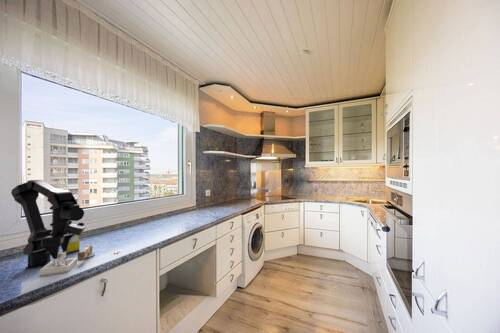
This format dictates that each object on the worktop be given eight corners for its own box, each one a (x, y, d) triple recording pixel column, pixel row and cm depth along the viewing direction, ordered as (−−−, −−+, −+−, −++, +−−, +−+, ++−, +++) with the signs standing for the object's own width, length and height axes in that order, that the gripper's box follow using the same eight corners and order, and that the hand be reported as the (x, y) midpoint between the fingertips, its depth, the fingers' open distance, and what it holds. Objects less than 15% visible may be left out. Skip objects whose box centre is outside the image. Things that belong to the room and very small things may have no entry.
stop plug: (51, 270, 91) (52, 255, 92) (56, 266, 95) (56, 252, 95) (63, 269, 93) (63, 254, 93) (67, 265, 97) (67, 250, 97)
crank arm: (85, 252, 110) (86, 244, 110) (92, 252, 111) (93, 244, 111) (76, 263, 97) (76, 253, 97) (84, 261, 98) (84, 252, 98)
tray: (39, 276, 88) (39, 269, 88) (51, 266, 97) (51, 261, 97) (68, 271, 91) (68, 265, 91) (77, 263, 100) (77, 257, 100)
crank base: (80, 258, 105) (80, 256, 105) (84, 255, 110) (84, 253, 110) (118, 253, 111) (118, 252, 111) (119, 250, 116) (119, 248, 116)
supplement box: (76, 248, 120) (77, 229, 120) (79, 251, 116) (79, 230, 116) (62, 251, 115) (63, 231, 116) (65, 254, 111) (65, 233, 112)
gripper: (75, 222, 89) (74, 259, 89) (89, 214, 106) (89, 245, 106) (40, 224, 85) (39, 264, 84) (61, 216, 102) (61, 249, 102)
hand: (60, 255), depth 94 cm, fingers open, 9 cm apart
